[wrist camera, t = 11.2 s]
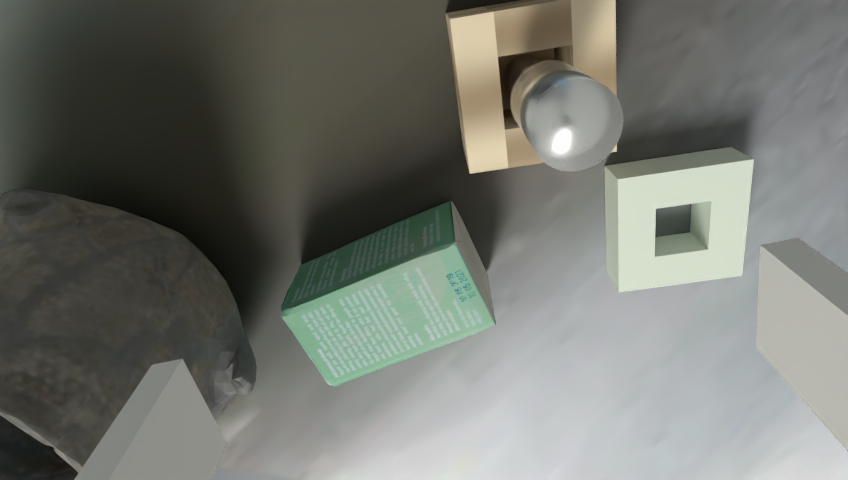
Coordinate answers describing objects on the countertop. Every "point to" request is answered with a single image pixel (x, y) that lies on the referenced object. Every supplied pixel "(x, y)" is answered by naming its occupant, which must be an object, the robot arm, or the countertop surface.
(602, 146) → the silver peg
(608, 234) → the stand
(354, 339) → the box
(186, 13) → the countertop surface
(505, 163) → the block
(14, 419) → the vessel
